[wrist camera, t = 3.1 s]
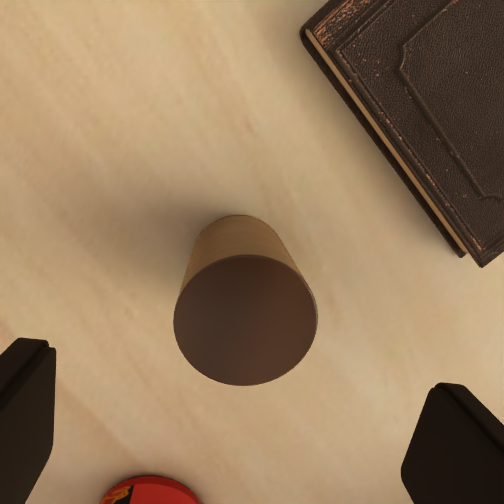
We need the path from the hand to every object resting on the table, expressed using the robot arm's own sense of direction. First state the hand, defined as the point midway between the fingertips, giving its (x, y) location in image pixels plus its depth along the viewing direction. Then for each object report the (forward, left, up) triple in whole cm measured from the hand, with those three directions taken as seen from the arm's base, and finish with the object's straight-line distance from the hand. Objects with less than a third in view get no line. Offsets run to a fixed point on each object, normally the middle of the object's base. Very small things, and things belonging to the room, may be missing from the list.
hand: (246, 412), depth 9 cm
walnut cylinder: (0, 0, -13) cm, 13 cm away
